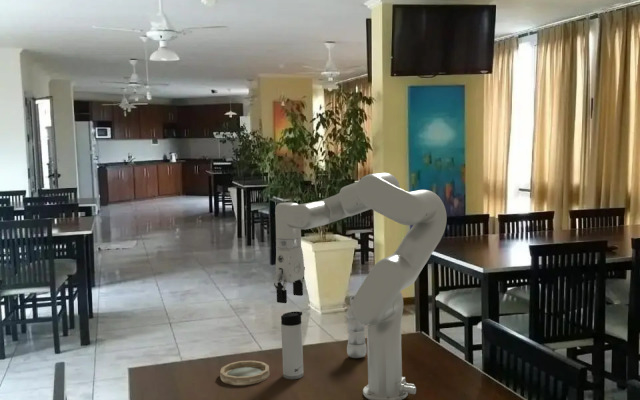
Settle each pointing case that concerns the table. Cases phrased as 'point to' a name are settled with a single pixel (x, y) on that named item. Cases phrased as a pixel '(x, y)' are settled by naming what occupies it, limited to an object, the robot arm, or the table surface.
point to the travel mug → (292, 345)
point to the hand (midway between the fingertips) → (290, 298)
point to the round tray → (244, 372)
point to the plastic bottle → (355, 335)
